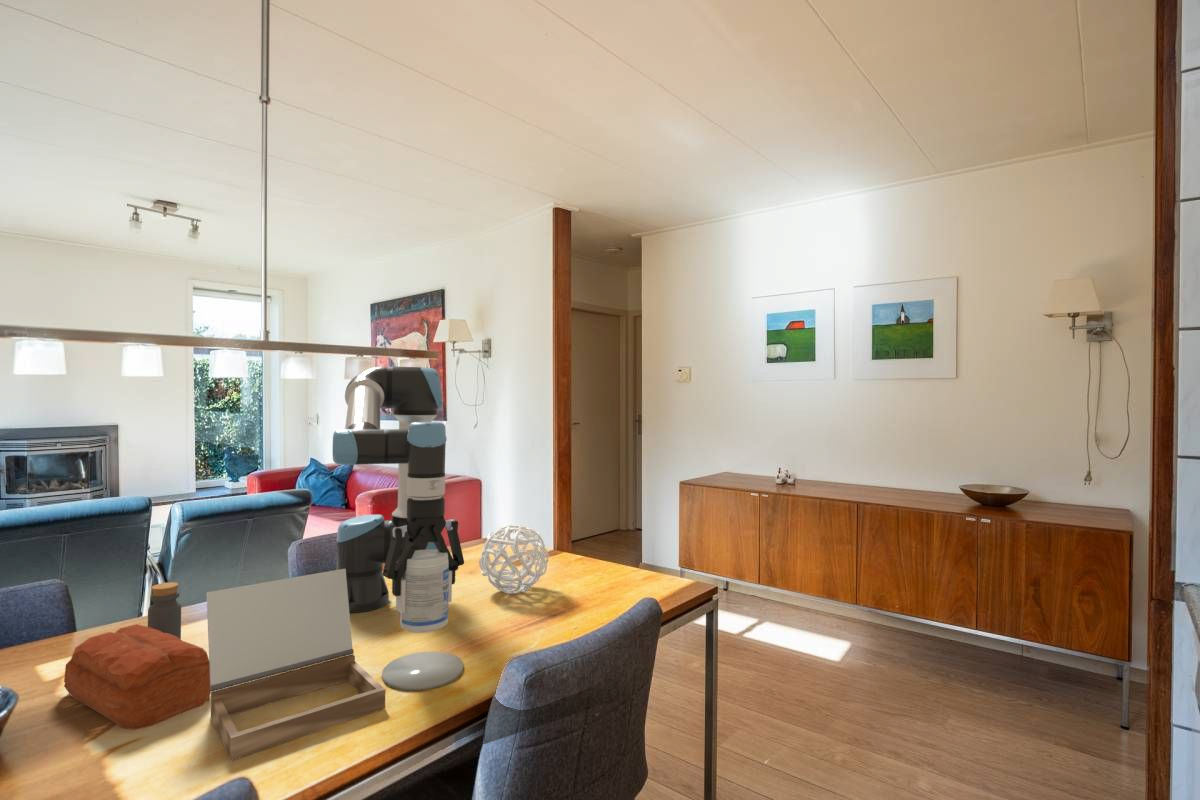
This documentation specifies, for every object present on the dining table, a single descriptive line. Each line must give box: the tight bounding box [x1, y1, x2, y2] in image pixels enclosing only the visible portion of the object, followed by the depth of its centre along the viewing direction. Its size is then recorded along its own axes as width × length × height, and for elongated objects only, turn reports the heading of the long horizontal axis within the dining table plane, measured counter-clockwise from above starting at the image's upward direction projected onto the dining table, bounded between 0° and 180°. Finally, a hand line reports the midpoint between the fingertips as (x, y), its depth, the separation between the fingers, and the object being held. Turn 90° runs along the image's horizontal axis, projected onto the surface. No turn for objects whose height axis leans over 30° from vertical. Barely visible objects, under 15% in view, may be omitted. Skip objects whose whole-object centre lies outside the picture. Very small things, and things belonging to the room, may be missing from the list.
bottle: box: [147, 581, 182, 640], centre depth 130 cm, size 6×6×15 cm
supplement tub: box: [399, 549, 449, 634], centre depth 124 cm, size 10×10×15 cm
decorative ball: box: [478, 524, 550, 595], centre depth 176 cm, size 20×20×19 cm
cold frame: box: [210, 653, 386, 761], centre depth 108 cm, size 16×24×4 cm
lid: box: [206, 568, 355, 692], centre depth 116 cm, size 17×24×2 cm
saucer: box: [381, 651, 464, 692], centre depth 125 cm, size 16×16×1 cm
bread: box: [63, 624, 211, 730], centre depth 113 cm, size 16×27×11 cm, turn 60°
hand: (424, 605), depth 124 cm, fingers closed on supplement tub, 9 cm apart
